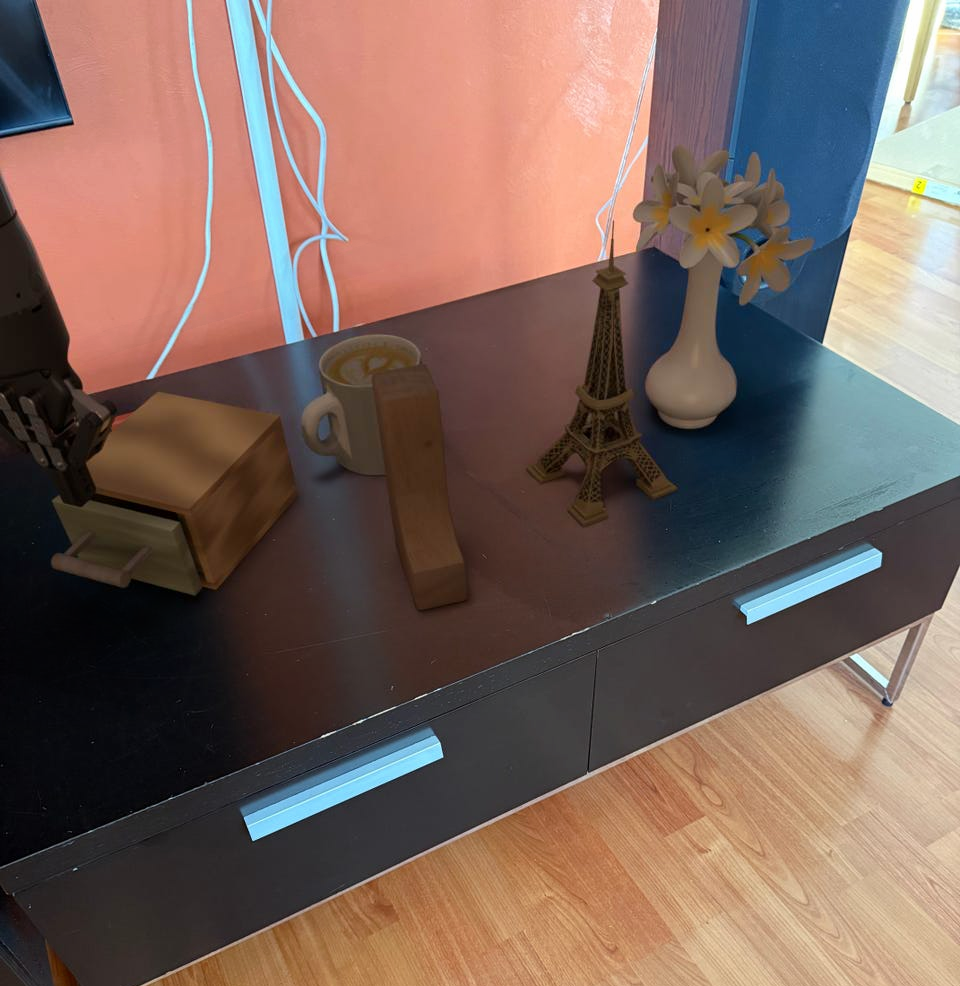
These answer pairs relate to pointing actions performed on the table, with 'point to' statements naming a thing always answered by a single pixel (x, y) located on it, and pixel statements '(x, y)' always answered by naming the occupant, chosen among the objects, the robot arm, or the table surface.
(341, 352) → the coffee mug
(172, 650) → the table surface
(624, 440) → the eiffel tower
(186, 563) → the drawer
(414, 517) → the wooden block
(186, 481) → the cabinet
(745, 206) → the flower vase
